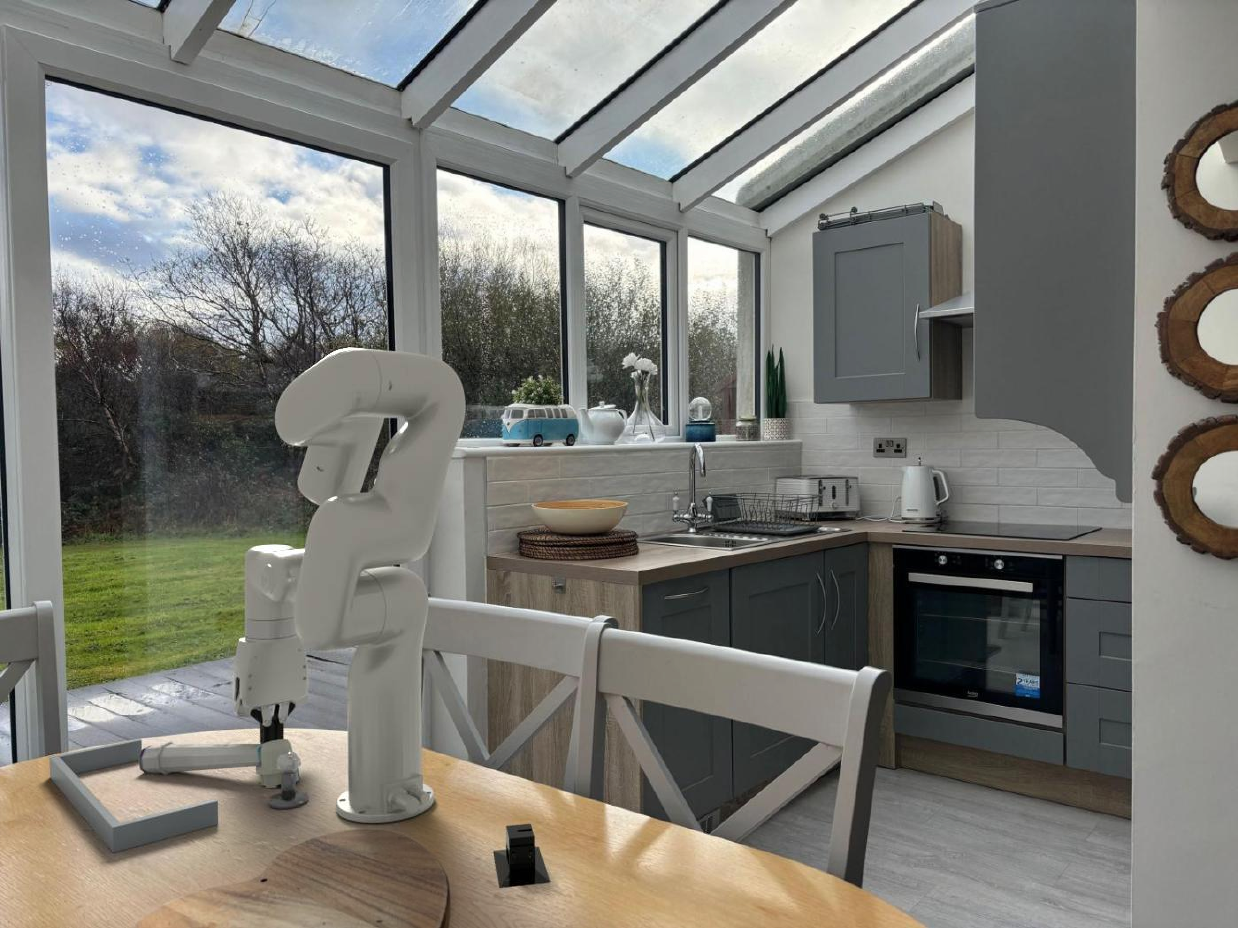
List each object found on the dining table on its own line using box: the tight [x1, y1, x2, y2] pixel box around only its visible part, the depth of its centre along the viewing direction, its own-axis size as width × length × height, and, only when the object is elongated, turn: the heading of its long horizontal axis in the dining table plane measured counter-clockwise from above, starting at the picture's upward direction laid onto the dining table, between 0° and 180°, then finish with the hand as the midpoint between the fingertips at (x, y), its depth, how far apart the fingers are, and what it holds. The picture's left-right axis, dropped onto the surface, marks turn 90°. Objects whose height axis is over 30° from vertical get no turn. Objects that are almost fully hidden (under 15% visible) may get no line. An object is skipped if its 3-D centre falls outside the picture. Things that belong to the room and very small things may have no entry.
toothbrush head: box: [138, 738, 302, 789], centre depth 134 cm, size 5×7×25 cm
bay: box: [49, 738, 219, 854], centre depth 125 cm, size 34×12×3 cm, turn 42°
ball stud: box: [268, 751, 309, 810], centre depth 124 cm, size 5×5×7 cm
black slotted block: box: [492, 823, 551, 889], centre depth 105 cm, size 12×7×5 cm, turn 12°
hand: (271, 748), depth 139 cm, fingers closed
